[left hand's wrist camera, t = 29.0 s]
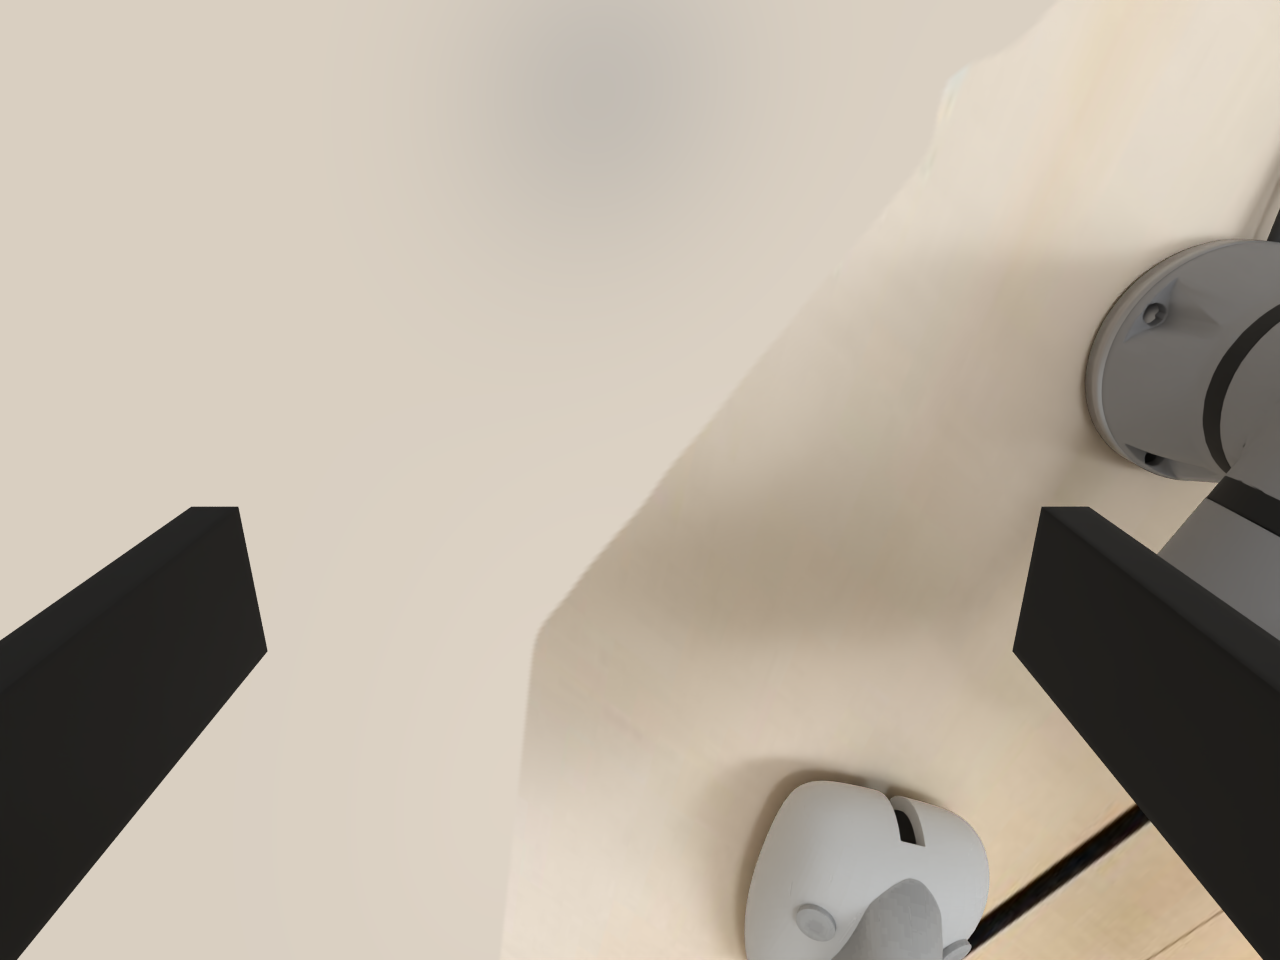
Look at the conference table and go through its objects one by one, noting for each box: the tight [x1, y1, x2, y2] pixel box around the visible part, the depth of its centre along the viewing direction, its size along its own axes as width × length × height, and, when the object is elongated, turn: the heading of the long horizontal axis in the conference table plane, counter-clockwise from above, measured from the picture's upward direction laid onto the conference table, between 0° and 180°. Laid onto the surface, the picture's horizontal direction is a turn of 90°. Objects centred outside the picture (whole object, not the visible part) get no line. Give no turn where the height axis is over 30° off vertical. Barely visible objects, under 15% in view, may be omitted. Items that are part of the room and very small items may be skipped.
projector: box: [745, 781, 989, 960], centre depth 58 cm, size 22×23×15 cm
